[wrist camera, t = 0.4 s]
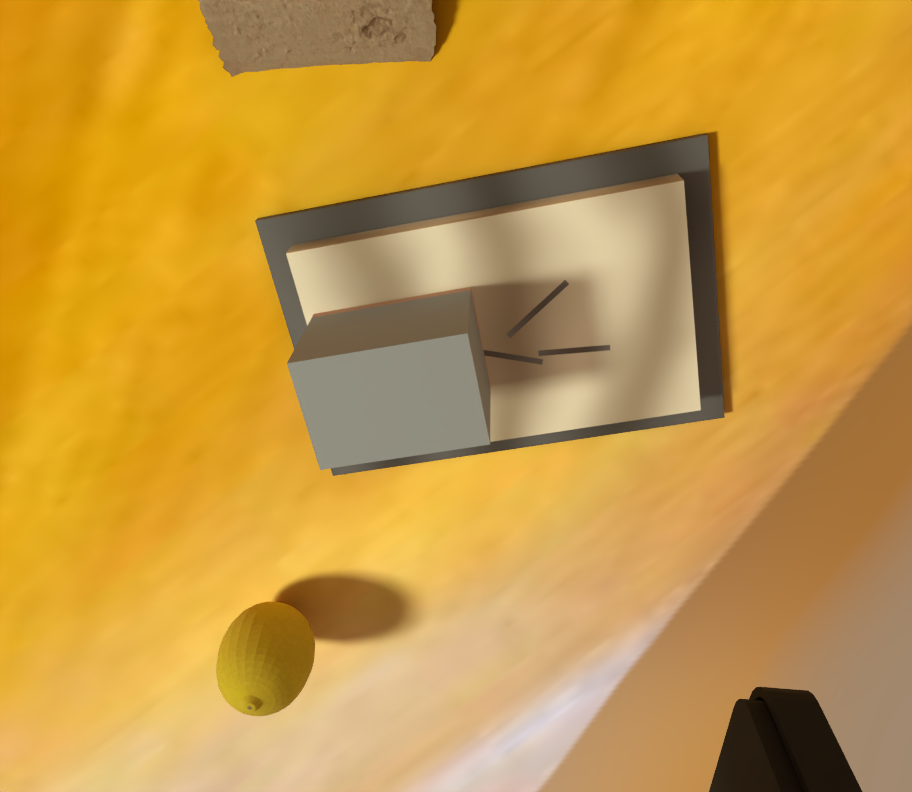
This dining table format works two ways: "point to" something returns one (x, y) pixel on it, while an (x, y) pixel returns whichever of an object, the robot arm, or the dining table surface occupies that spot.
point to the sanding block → (393, 379)
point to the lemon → (265, 658)
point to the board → (539, 285)
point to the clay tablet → (318, 32)
